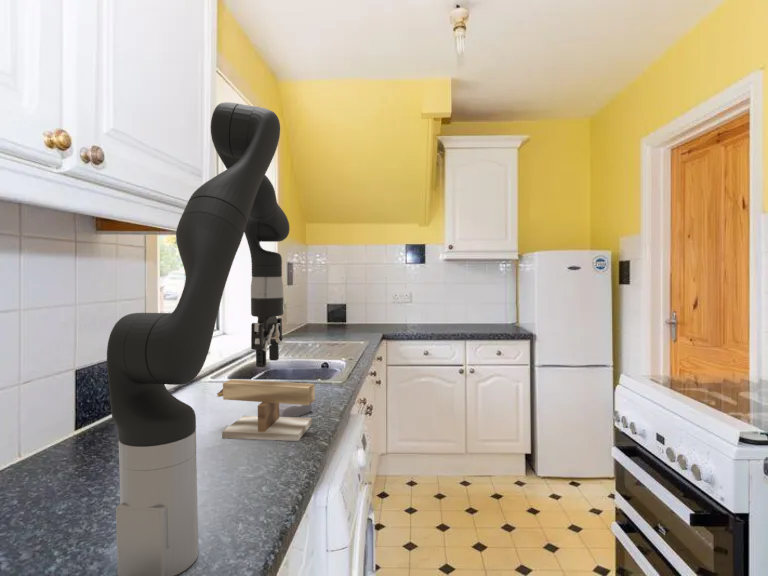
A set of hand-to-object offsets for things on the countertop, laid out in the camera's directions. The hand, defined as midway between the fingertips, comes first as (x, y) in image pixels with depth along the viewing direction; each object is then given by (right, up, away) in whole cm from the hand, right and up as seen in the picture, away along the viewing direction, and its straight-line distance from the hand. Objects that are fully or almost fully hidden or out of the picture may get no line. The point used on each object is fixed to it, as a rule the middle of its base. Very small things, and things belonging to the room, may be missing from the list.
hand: (267, 363), depth 114 cm
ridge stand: (0, -16, +1) cm, 16 cm away
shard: (-20, -16, +37) cm, 45 cm away
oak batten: (0, -9, 0) cm, 9 cm away
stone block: (+1, -16, +14) cm, 21 cm away
